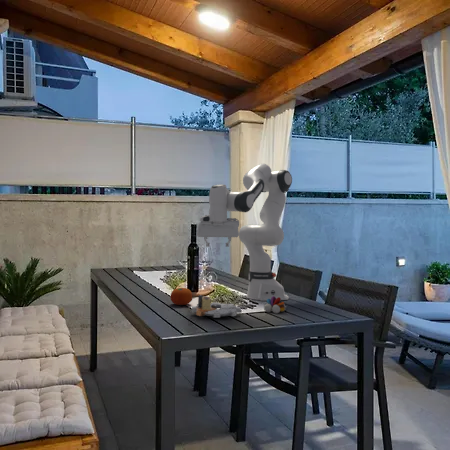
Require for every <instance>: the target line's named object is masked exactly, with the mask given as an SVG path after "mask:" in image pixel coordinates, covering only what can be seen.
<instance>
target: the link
mask: <svg viewBox="0 0 450 450" xmlns="http://www.w3.org/2000/svg"><path fill="white" fill-rule="evenodd" d="M211 301H212V299H211V297H210V296H205V295H203V297H202V310H211V303H212V302H211Z"/></svg>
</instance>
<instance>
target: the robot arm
mask: <svg viewBox="0 0 450 450" xmlns="http://www.w3.org/2000/svg"><path fill="white" fill-rule="evenodd" d="M292 183H293V176H292V174H291V173H290V171H289V170H286V169H280V170H272V169H271V167H270V166H269V165H268V164H266V163H259V164H257V165H255V166H254V167H251V168H250V169H249V170H248V171H246V173H245V174H244V175H243V178H242V184H243V186H244V188H245V189H246V190H245V191H231V190H229V189H228V188H227V185H226V184H222V183H221V184H215V185H212V186H211V187H210V190H209V194H208V195H209V196H208V203H209V211H208V214H205V215H203V216H200V217H199V221H200V222H198V224H197V228H196V235H197V237H198V238H204V241H205V244H206V247H210V242H208V238H227V239H228V241H227V242H225V247H227V248H228V247H230V243H231V242H232V238H239V240H240V242H241V243H242V244H243V245H244V246H245V248H246V250H247V253H248V254H249V255H248V256H249V271H248V281H249V282H248V288H247V292H246V295H245V296H246V298H247V299H250V300H254V301H255V300H257V301H262V302H263V301H264V302H267V299H271V298H272V296H274V297H275V298H276V299H277V298H278V297H280V299H281V300H280V301H288V300H289V299H290V298H289V297H290V296H288V295H287V294H285V289H284V286H283V285H282V284H281V283H280V282H278V281H277V280H276V279H275V278H276V277H277V273H276V272H273V271H271V267H272V266H271V265H272V262H271V261H272V259H271V256H270V254H269V253H267V252H266V251H265V250H264V248H263V247H274V246H279V245H281V244H282V243H283V242H284V237H285V233H284V230H283V228H282V227H281V226H280V219H281V216H282V213H283V212H284V209H285V205H286V203H287V202H286V199H287V195H286V193H287V192H288V191H289V190H290V188H291V186H292ZM262 193H268V195H267V197H266V198H265V201H264V203H263V205H262V206H261V209H260V211H259V219H260V222H262V223H261V224H253V223H252V224H246V225H242V226H241V227H240V221H239V219H238V218H235V217H228V212H240V213H248V212H250V211H251V210H252V208H253V206H254V203H255V202H256V201H257V199H258V198H259V196H260V195H261V194H262ZM239 227H240V228H239Z"/></svg>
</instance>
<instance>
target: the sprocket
mask: <svg viewBox="0 0 450 450" xmlns="http://www.w3.org/2000/svg"><path fill="white" fill-rule="evenodd" d="M202 297H204V295H202V294H201V295H198V298H197V299H198V300H197V303H196V306H193V305H192V306H191V313H196V316H199V317H203V316H205V317H212V318H221V317H228V316H229V317H236V316H237V314H241V312H242V311H241V306H235V304H234V303H219V302H215V301H214V302H211V310H202Z"/></svg>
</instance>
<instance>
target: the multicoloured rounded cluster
mask: <svg viewBox="0 0 450 450" xmlns="http://www.w3.org/2000/svg"><path fill="white" fill-rule="evenodd" d="M281 301H282V300H281V299H280V297H278V298H277V299H276V298H275V297H274V296H272V298H271V299H267V301H266V304H264V307H263V309H264V312H266V313H271V312H272V313H274V314H279V313H281V312H285V310H286V308H287V307H286V305H285V302H284V301H282V302H281Z"/></svg>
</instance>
